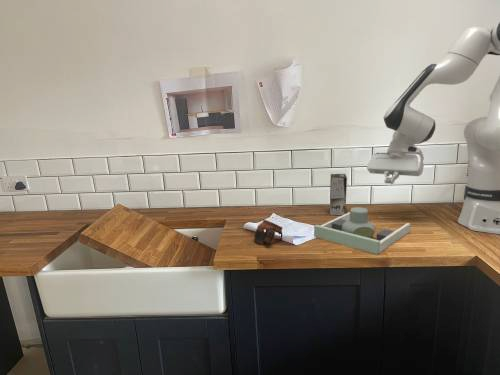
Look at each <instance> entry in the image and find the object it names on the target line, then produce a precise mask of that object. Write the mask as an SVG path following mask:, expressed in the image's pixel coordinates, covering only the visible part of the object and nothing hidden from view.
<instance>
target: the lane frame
mask: <svg viewBox="0 0 500 375" xmlns="http://www.w3.org/2000/svg"><path fill="white" fill-rule="evenodd" d="M340 219H342V220H346V221H347V220H350V211H348V212H347V213H345V214H344V215H339V216H337V217H336V218H334V219H331V220H329V221H327V222H325V223H323V224H321V225H319V224H315V225H314V226H313V231H314V232H313V237H315V238H318V239H321V240H325V241H329V242H331V243H332V242H333V243H335V244H340V245H342V246H346V247H350V248H354V249H357V250H360V251H364V252H368V253H371V254H373V255H379V254H380V253H382V251H384V250H386V249H387V248H389V247H390V246H391V245H392V244H394V243H396V242H397V241H398V240H400V239H401V238H403V237H404V236H405V235H406V234H409V232H410V231H411V230H410V229H411V223H409V222H407V223H405V224H403V225H402V226H401V227H399V228H397V229H396V230H394V232H393V233H391V234H390V235H388V236H387V237H385V238H384V239H382V240H381V241H379V240H376V239H375V238H372V237H370V238H367V237H363V236H359V235H355V234H351V233H347V232H344V231H340V230H336V229H332V223H334V222H336V221H338V220H340Z"/></svg>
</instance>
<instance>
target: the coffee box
mask: <svg viewBox="0 0 500 375" xmlns="http://www.w3.org/2000/svg"><path fill="white" fill-rule="evenodd" d="M347 177H348V176H347V175H346V173H330V180H329V181H330V183H329V184H330V188H329V191H330V192H329V214H330V216H342V215H344V214H346V207H347V205H346V204H347V185H348V183H347V181H348V178H347Z"/></svg>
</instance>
